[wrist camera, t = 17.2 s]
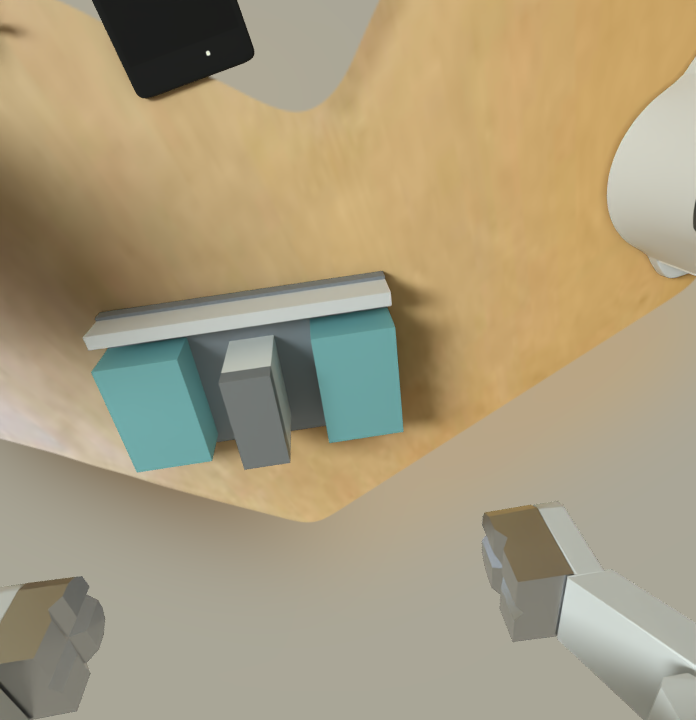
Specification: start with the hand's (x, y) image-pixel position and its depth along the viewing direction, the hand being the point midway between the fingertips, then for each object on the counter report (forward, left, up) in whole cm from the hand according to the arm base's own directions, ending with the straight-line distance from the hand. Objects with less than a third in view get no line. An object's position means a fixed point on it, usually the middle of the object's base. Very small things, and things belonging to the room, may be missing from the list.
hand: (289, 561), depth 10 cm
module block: (+6, +15, -33) cm, 37 cm away
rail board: (+6, +14, -34) cm, 37 cm away
